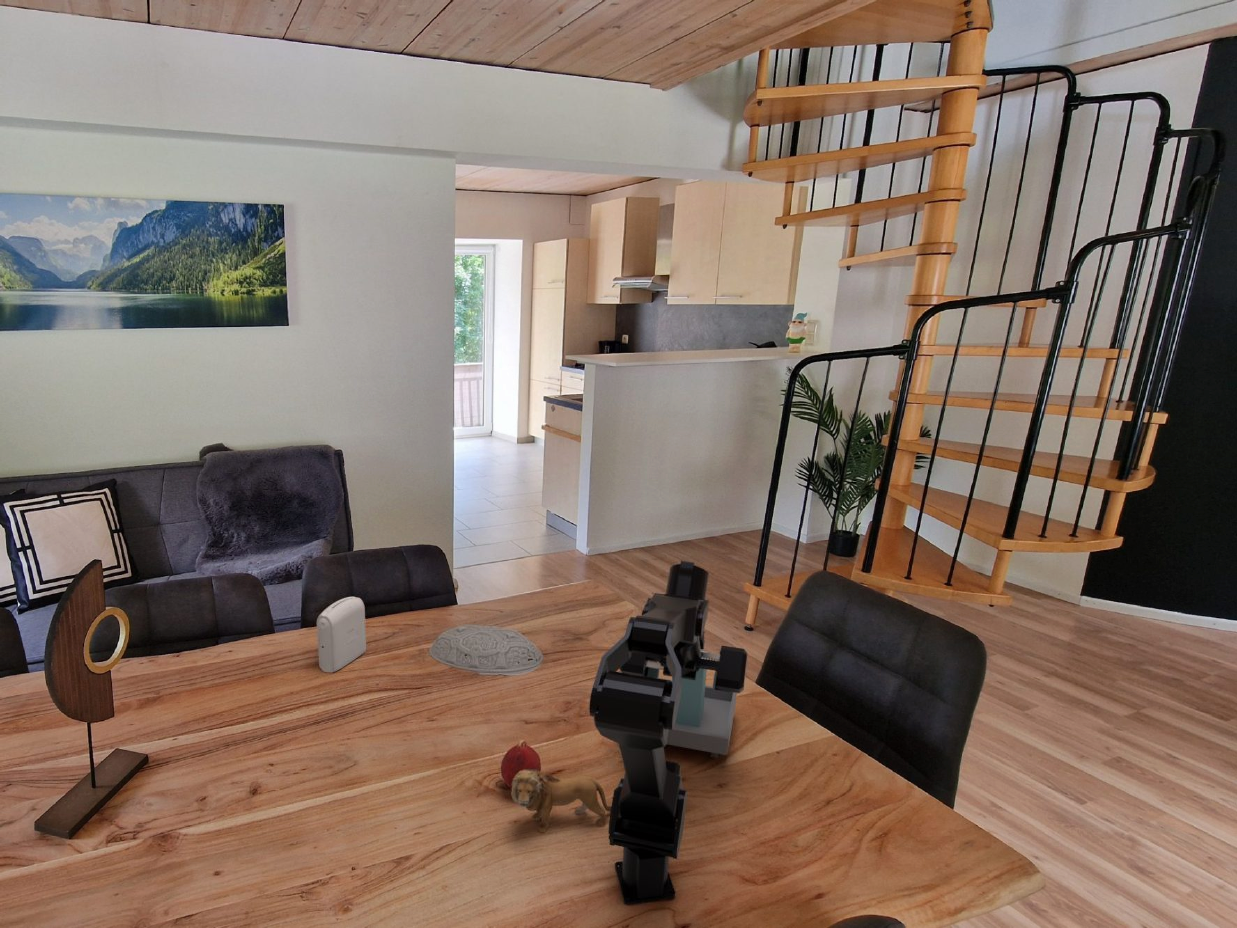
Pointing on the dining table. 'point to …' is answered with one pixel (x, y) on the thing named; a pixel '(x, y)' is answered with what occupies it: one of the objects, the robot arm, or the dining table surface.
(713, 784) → the dining table surface
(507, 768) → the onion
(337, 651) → the photo printer
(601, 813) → the lion figurine
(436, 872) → the dining table surface
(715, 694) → the grey footed tray
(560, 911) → the dining table surface
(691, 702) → the light blue block
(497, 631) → the grey carved oval dome
